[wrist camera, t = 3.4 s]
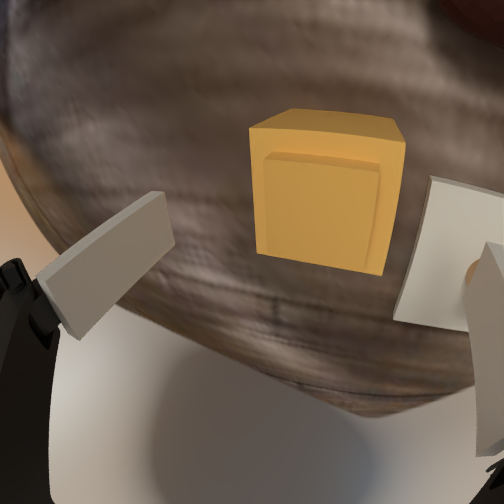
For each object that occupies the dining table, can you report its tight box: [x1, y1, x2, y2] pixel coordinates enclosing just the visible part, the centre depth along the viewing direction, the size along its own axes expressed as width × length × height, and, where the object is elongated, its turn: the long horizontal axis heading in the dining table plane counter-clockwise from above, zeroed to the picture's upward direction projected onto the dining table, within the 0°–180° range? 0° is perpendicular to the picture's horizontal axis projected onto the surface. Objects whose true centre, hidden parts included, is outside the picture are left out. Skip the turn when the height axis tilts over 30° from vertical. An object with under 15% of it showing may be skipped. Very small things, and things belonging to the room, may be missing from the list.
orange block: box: [249, 109, 406, 276], centre depth 14 cm, size 6×6×8 cm
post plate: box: [393, 175, 504, 332], centre depth 15 cm, size 12×12×6 cm
